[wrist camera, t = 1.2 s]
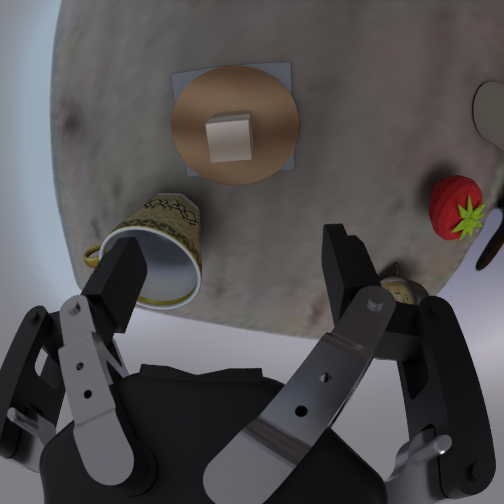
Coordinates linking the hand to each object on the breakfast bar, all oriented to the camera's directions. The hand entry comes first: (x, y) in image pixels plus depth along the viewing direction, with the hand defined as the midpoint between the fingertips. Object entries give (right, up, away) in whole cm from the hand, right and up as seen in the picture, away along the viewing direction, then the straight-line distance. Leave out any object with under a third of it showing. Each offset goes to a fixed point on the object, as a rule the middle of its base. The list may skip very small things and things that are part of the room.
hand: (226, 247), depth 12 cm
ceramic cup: (-10, +4, +21) cm, 23 cm away
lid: (-1, +12, +14) cm, 18 cm away
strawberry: (+23, +8, +17) cm, 30 cm away
